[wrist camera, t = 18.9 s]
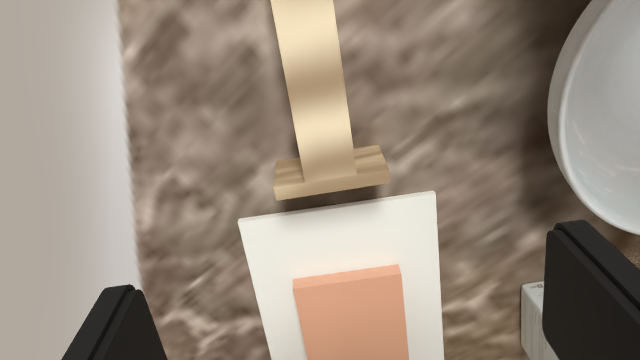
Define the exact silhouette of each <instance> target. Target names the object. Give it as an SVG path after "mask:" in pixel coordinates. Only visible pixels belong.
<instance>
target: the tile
mask: <svg viewBox="0 0 640 360" xmlns="http://www.w3.org/2000/svg"><path fill="white" fill-rule="evenodd" d="M293 292H294V297H295V301H296V306H297V311H298V316H299V321H300V326H301V331H302V336H303V340H304V345H305V350H306V355H307V360H409V352H408V341H407V330H406V319H405V308H404V297H403V286H402V275H401V271H400V268H399V265H398V264H395V265H388V266H381V267H374V268H367V269H360V270H353V271H346V272H338V273H331V274H324V275H317V276H310V277H303V278H296V279H293Z"/></svg>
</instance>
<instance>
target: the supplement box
mask: <svg viewBox="0 0 640 360" xmlns="http://www.w3.org/2000/svg"><path fill="white" fill-rule="evenodd" d="M543 293H544V281H541V282H535V283H528V284H523V285H522V290H521V345H522V347H523V348H524V350H525V352H526V354H527V355H528V357H529V359H530V360H559V359H558V357H557V356H556V354H555V353H554V351H553V349H552V348H551V346H550V345H549V343H548V342H547V340H546V338H545V336H544V333H543V329H542V311H543Z"/></svg>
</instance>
